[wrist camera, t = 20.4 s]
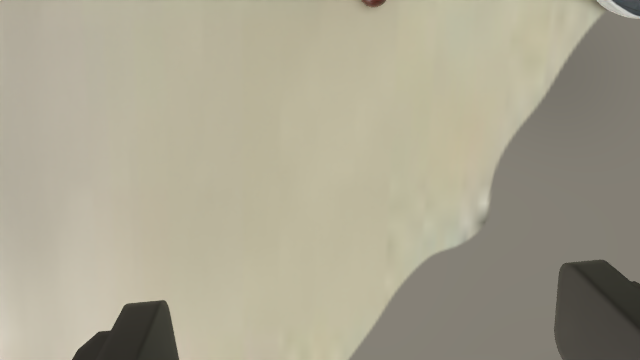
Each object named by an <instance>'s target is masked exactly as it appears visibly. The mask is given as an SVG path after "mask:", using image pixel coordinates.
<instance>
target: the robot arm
mask: <svg viewBox="0 0 640 360" xmlns="http://www.w3.org/2000/svg"><path fill="white" fill-rule="evenodd" d="M554 332H555V340H556V344H557V348H558V351H559V353H560V355H561V357H562V359H563V360H640V284H639V283H637V282H635V281H633V282H631V281H629V280H628V279H627V278H626V277H625V276H623V275H622V274H621V273H620V272H619V271H617V270H616V269H615V268H614V267H612V266H611V265H610V264H609V263H608V262H606V261H604V260H593V261H582V262H572V263H565V264H563V265H562V267H561V268H560V272H559V280H558V291H557V303H556V315H555V327H554ZM72 360H179V357H178V352H177V347H176V342H175V336H174V331H173V326H172V321H171V316H170V311H169V307H168V305H167V303H166V301H164V300H161V301H150V302H140V303H129V304H126V305H125V306H124V307H123V309H122V311H121V313H120V315H119V317H118V318H117V320H116V322H115V324H114V326H113V328H112V330H111V331H102V332H98V333H97V334H96V335H95V336H93V337H92V338H91V339H90V340H89V341H88V342H86V343H85V344H84V345H83V346H82V347H81V348H79V349H78V351H77V352H76V354H75V356H74V357H73V359H72Z"/></svg>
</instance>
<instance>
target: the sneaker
mask: <svg viewBox="0 0 640 360" xmlns="http://www.w3.org/2000/svg"><path fill="white" fill-rule="evenodd" d="M596 1H597V2H598V3H599V4H600V5H602V6H603V7H604V8H606V9H607V10H608V11H611V12H613V13H616V14H619V15H621V16H623V17H628V18H636V19H640V0H596Z"/></svg>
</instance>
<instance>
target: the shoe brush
mask: <svg viewBox="0 0 640 360" xmlns="http://www.w3.org/2000/svg"><path fill="white" fill-rule="evenodd" d="M385 1H386V0H362V2H363V3H364V4H366V5H367V6H369V7H378V6H380V5H382V4H383V3H384V2H385Z"/></svg>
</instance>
